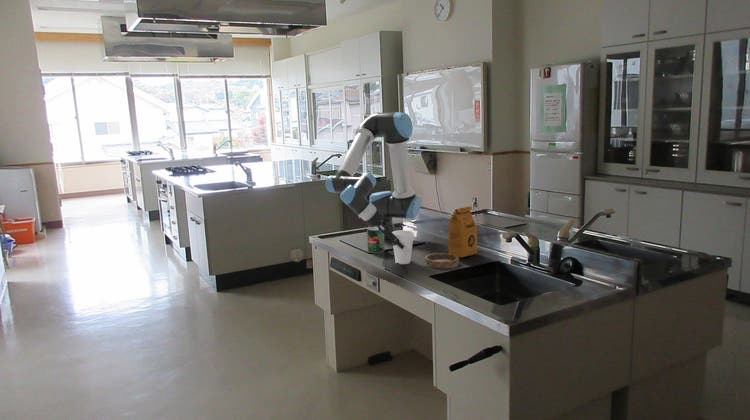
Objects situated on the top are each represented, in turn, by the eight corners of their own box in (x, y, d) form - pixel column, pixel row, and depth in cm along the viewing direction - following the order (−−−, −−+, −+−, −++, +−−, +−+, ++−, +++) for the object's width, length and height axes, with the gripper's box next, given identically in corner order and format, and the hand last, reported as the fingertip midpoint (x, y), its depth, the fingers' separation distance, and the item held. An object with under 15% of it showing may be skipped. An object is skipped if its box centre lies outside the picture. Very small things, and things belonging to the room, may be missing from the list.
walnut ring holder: (422, 259, 235) (422, 253, 234) (454, 258, 236) (454, 252, 235) (428, 269, 221) (428, 262, 221) (461, 268, 222) (461, 261, 222)
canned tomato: (385, 249, 254) (385, 226, 252) (383, 253, 247) (383, 230, 245) (369, 248, 256) (368, 226, 254) (366, 253, 248) (365, 229, 246)
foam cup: (418, 262, 231) (417, 233, 228) (400, 266, 226) (400, 236, 224) (405, 257, 239) (405, 229, 236) (387, 261, 234) (387, 232, 231)
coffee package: (480, 255, 241) (481, 206, 237) (462, 260, 234) (462, 210, 229) (463, 250, 249) (464, 203, 245) (445, 255, 241) (445, 207, 237)
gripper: (363, 215, 240) (397, 247, 244) (366, 227, 215) (404, 262, 219) (375, 203, 239) (408, 235, 243) (379, 214, 215) (416, 249, 219)
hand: (406, 248), depth 231 cm, fingers open, 13 cm apart
